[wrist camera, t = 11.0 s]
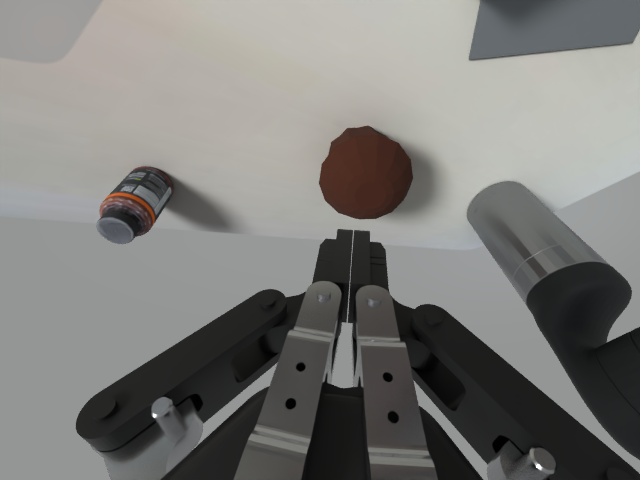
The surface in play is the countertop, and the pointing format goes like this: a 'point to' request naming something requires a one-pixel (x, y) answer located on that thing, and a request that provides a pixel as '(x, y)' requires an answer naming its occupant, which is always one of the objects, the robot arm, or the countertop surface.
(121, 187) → the supplement bottle
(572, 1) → the mat
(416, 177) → the countertop surface
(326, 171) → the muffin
